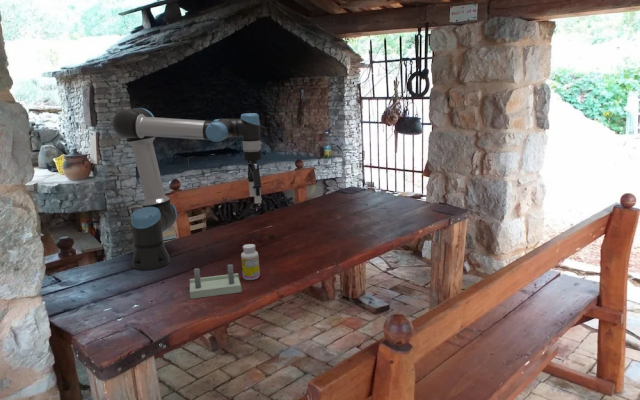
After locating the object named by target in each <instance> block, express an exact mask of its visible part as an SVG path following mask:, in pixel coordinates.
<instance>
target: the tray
mask: <svg viewBox="0 0 640 400" xmlns="http://www.w3.org/2000/svg"><path fill="white" fill-rule="evenodd" d="M193 274H194V276H193V278H190V279H189V299H190V300H192V299H199V298H200V299H201V298H206V297H207V298H208V297H215V296H223V295H230V294H238V293H243V292H242V284H241V281H240V278H239V273H234V264H231V263H230V264H227V274H222V275H214V276H204V277H201V272H200V268H199V267H197V268H196V267H195V268H194V269H193Z"/></svg>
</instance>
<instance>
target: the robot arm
mask: <svg viewBox="0 0 640 400" xmlns="http://www.w3.org/2000/svg"><path fill="white" fill-rule="evenodd" d="M111 122H112V125H111V126H112V129H113V130H114V132H115V134H116V135H118V136H119V137H122V138H123V139H125V140H126V142H127V144H129V145H130V146H131V147H132V152H133V155H134V159H135V164H136V168H137V172H138V176H139V181H140V183H141V187H142V188H141V189H142V191H143V195H144V201H143V203H142V208H138V209H135V210H134V211H133V212H132V213H131V215H130V225H131V230H132V237H133V244H134V250H133V255H132V259H131V265H132V268H133V269H135V270H139V271H148V270H156V269H160V268H163V267H165V266H167V265H168V264H169V263H170V261H171V259H170V254H169V252H168V251H167V249H166V246H165V244H164V235H163V233H164V232H165V231H167V230H168V229H170V228H171V227H173V225H174V224H175V223H176V221H177V219H178V211H177V209H176V206H175V205H174V204H172V202H171V198H170V197H169V196H167V195H166V193H165V188H164V185H163V181H162V175H161V173H160V167H159V163H158V159H157V155H156V151H155V146H154V140H155V139H156V137H157V138H173V139H189V140H203V141H204V140H205V141H211V142H214V143H217V142H219V143H220V142H222V141H224V140H226V139H227V138H228V139H229V138H236V137H237V138H242V150H243V153H242V154H243V160H244V161H245V162H247V180H248V191H249V197H250V198H251V197H254V198H253V199H254V204H262V191H261V189H262V181H261V174H260V164H259V163H258V161H261V160H262V159H263V156H262V155H263V153H262V150H261V149H262V145H263V142H262V141H261V140H262V139H261V123H260V122H261V121H260V115H259V113H257V112H256V113H255V112H254V113H253V112H252V113H251V112H249V113H242V114H241V115H240V118H218V119H214V120H199V119H188V118H187V119H185V118H184V119H183V118H168V117H155V116H154V114H153V113H152V112H151V111H149V110H148V109H146V108H143V107H134V108H128V109H126V108H125V109H121V110H119V111H117V112H116V113H115V114H114V116H113V117H112V121H111Z"/></svg>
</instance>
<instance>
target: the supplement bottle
mask: <svg viewBox="0 0 640 400" xmlns="http://www.w3.org/2000/svg"><path fill="white" fill-rule="evenodd" d="M242 250H243V252H241V254H240V258H241V259H240V260H241V274H242V275H241V276H242V278H243V280H246V281H253V280H254V281H255V280H257V279H258V278H259V277H260V275H261V274H260V272H261V270H260V260H259V259H260V258H259V257H260V256H259V253H258V251H257V250H256V244H253V243H251V244H250V243H248V244H244V245H243V246H242Z"/></svg>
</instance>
